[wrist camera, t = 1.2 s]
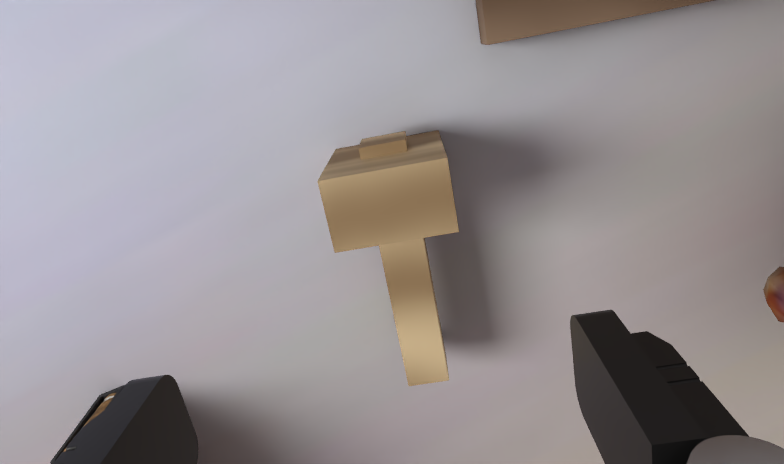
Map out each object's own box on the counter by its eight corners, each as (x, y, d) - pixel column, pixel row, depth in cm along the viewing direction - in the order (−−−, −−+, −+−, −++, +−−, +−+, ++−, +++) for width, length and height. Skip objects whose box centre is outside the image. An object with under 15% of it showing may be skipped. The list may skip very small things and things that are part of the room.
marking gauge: (333, 138, 27) (314, 168, 21) (436, 119, 26) (445, 144, 20) (381, 351, 31) (376, 424, 25) (471, 337, 30) (486, 409, 25)
